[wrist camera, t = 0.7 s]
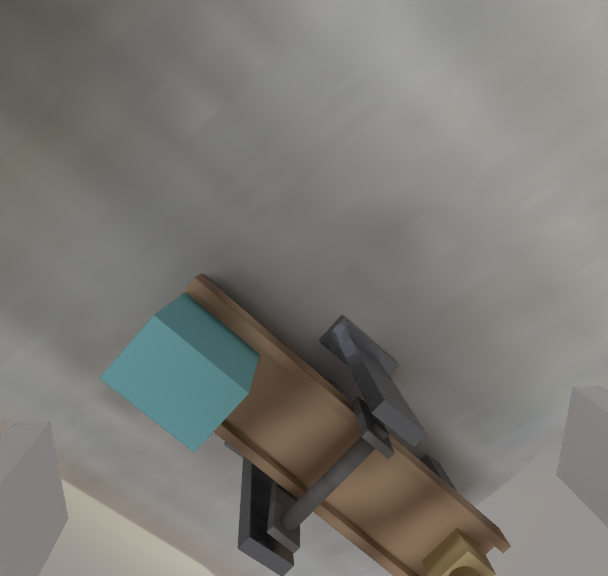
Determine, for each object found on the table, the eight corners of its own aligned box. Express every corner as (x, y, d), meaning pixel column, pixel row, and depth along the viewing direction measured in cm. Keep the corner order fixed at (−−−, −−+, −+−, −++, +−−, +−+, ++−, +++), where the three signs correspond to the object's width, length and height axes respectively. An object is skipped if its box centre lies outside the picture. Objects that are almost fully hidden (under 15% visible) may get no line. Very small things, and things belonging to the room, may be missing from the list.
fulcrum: (225, 439, 40) (211, 546, 29) (342, 315, 38) (377, 375, 27) (281, 479, 42) (289, 595, 30) (396, 361, 40) (451, 438, 28)
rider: (143, 341, 32) (99, 378, 25) (186, 292, 31) (153, 315, 24) (216, 401, 33) (193, 452, 26) (259, 354, 32) (248, 393, 25)
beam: (146, 343, 38) (83, 397, 27) (224, 253, 37) (191, 272, 26) (406, 553, 42) (444, 677, 31) (484, 479, 41) (553, 580, 30)
